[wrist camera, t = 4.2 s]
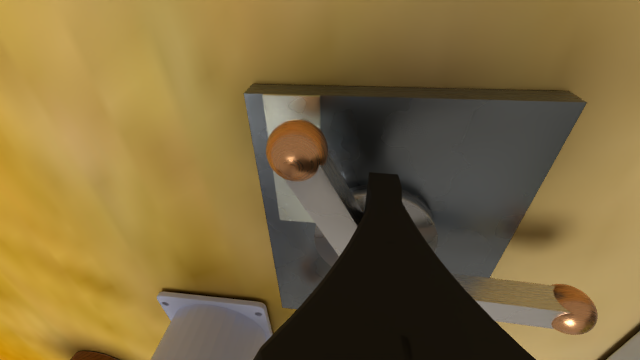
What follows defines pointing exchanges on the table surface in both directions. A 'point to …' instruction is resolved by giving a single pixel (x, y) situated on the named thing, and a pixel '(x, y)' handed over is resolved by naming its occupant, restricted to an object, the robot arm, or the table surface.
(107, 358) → the disposable coffee cup
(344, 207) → the capstan
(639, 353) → the tea box
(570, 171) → the table surface
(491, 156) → the stand plate
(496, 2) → the table surface
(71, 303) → the table surface
